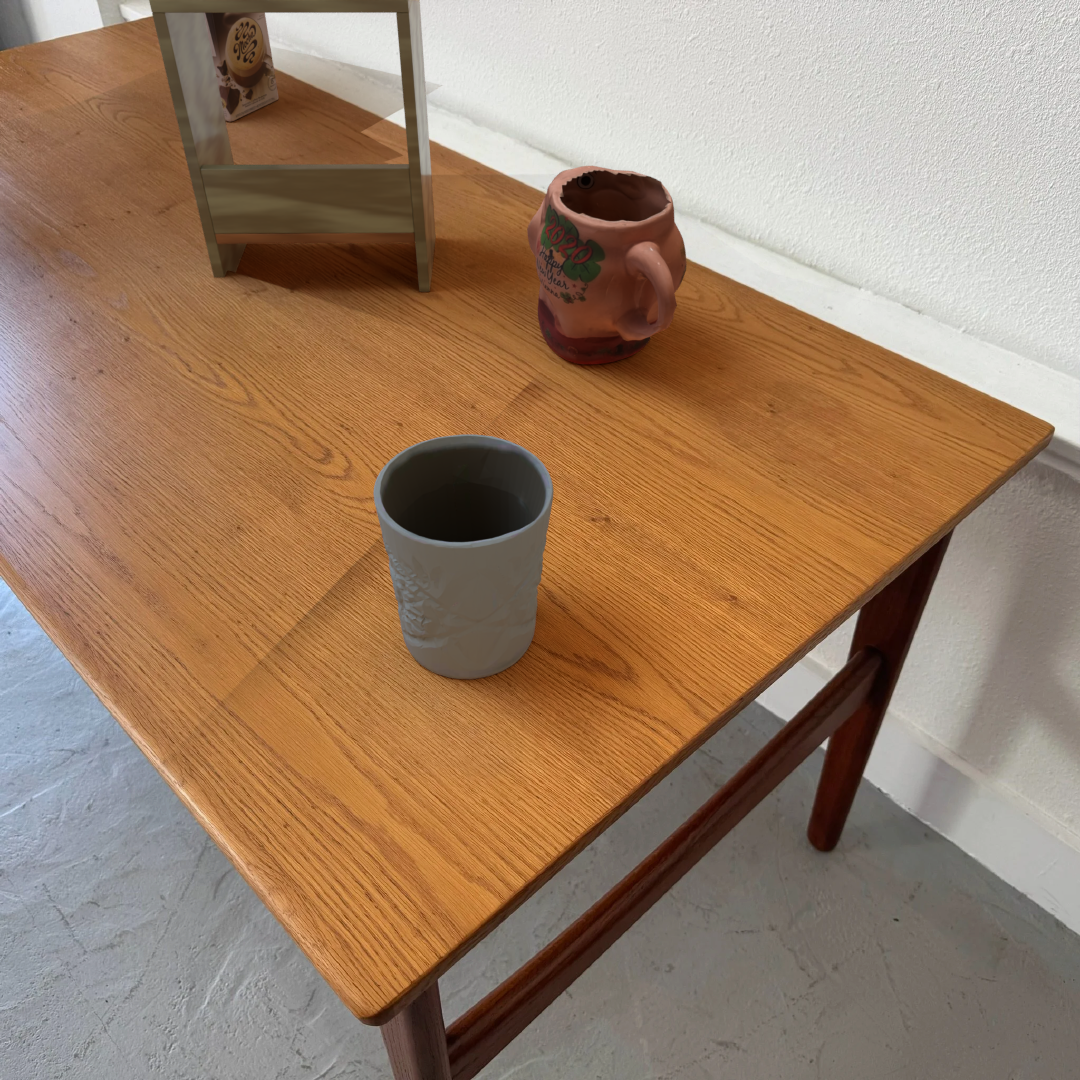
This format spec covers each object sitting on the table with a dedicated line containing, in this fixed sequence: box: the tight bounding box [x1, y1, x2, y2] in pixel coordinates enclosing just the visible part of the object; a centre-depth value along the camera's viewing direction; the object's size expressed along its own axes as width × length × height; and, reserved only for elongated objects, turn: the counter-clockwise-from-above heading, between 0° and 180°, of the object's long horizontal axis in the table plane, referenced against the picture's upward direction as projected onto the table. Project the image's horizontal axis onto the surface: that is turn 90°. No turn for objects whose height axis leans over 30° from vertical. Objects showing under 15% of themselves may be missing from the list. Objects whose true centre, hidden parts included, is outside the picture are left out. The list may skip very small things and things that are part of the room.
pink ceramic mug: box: [526, 165, 687, 365], centre depth 86 cm, size 20×12×14 cm, turn 30°
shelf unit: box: [148, 0, 437, 293], centre depth 92 cm, size 11×20×26 cm, turn 91°
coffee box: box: [204, 13, 280, 122], centre depth 125 cm, size 9×6×16 cm
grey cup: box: [373, 433, 555, 680], centre depth 63 cm, size 10×10×12 cm
